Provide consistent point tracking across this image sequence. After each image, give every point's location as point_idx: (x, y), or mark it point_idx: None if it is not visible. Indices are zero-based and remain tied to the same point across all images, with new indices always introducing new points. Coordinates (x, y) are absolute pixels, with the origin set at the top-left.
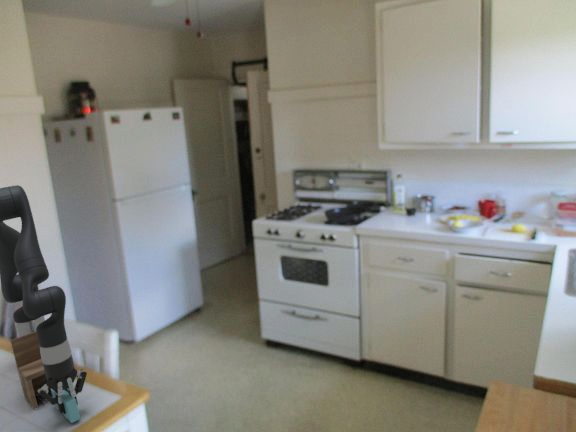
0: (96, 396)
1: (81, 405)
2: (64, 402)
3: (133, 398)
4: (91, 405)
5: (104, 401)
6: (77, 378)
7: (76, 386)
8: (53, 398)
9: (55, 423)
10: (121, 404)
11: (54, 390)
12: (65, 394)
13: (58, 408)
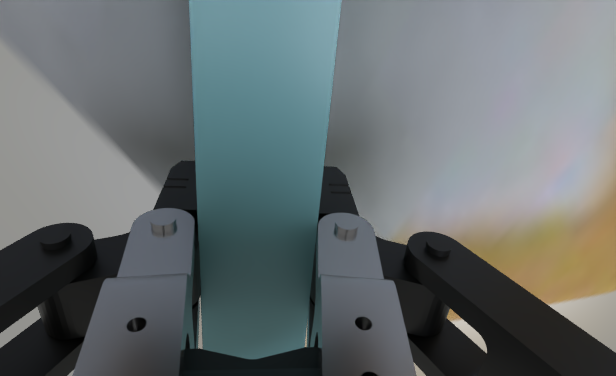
0: (547, 34)
1: (399, 52)
2: (204, 330)
3: (599, 272)
4: (438, 125)
5: (514, 159)
6: (543, 362)
7: (435, 288)
8: (83, 300)
9: (144, 113)
10: (526, 270)
11: (99, 323)
12: (280, 198)
13: (167, 181)
